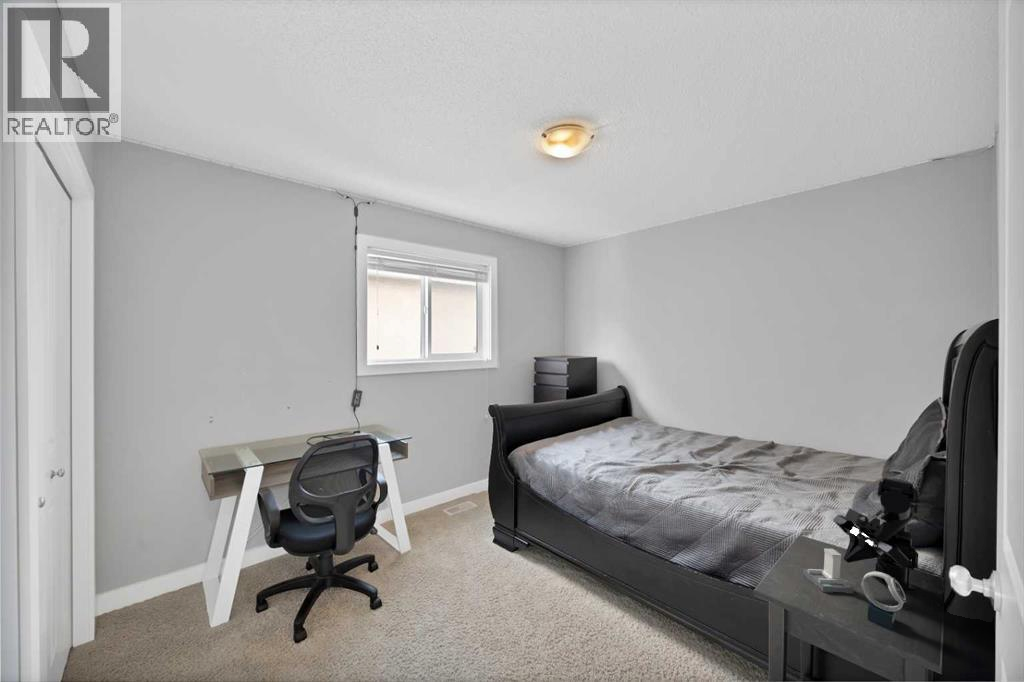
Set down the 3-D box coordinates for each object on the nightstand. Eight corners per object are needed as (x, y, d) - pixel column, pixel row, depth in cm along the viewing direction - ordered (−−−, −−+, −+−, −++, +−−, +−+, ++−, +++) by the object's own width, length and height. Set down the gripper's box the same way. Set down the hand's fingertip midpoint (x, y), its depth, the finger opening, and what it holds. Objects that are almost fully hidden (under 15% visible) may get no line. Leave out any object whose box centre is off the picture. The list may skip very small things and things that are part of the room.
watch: (903, 634, 96) (905, 587, 95) (858, 615, 102) (860, 571, 101) (906, 623, 99) (908, 578, 99) (862, 606, 105) (864, 563, 105)
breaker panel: (831, 575, 118) (832, 567, 118) (853, 593, 110) (854, 584, 110) (803, 574, 119) (803, 565, 119) (822, 592, 111) (823, 582, 111)
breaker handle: (832, 574, 116) (834, 548, 116) (841, 581, 113) (842, 555, 113) (821, 574, 116) (823, 548, 116) (830, 580, 113) (831, 554, 113)
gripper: (840, 487, 122) (801, 523, 123) (900, 517, 104) (854, 559, 104) (865, 514, 123) (827, 550, 123) (929, 548, 104) (883, 590, 104)
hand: (845, 560), depth 114 cm, fingers closed
